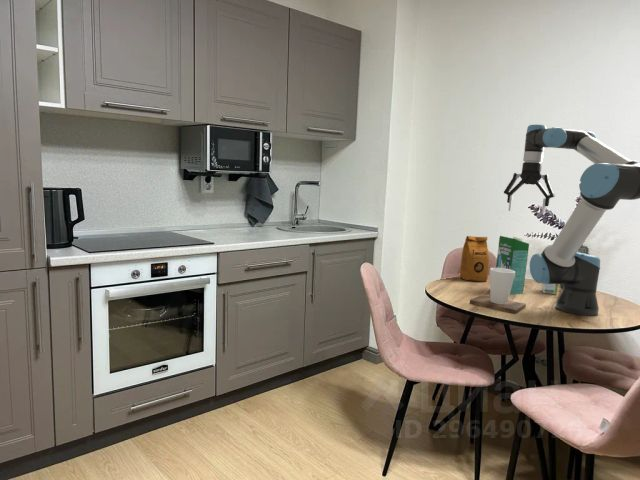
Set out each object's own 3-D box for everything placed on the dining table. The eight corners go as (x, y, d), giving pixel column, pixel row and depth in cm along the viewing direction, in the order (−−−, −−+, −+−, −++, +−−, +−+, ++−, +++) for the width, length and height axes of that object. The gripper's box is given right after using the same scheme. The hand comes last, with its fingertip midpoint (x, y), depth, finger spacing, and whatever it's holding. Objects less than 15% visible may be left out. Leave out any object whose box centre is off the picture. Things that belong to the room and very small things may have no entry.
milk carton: (523, 293, 218) (530, 238, 215) (507, 294, 215) (514, 238, 211) (508, 288, 227) (515, 235, 223) (493, 289, 223) (499, 235, 220)
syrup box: (543, 292, 222) (547, 261, 220) (541, 290, 228) (545, 259, 226) (556, 294, 220) (561, 263, 218) (555, 291, 226) (559, 261, 224)
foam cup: (484, 302, 192) (488, 270, 190) (488, 297, 200) (491, 266, 198) (510, 306, 188) (514, 273, 186) (512, 301, 196) (516, 270, 194)
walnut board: (525, 307, 194) (525, 303, 194) (515, 313, 184) (516, 310, 183) (481, 298, 205) (481, 294, 205) (469, 303, 195) (469, 299, 194)
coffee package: (489, 283, 236) (494, 238, 233) (464, 281, 235) (469, 237, 232) (481, 278, 246) (486, 235, 243) (457, 277, 245) (462, 234, 242)
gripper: (566, 164, 201) (559, 215, 204) (505, 161, 216) (499, 209, 219) (562, 163, 195) (555, 215, 198) (499, 160, 210) (494, 209, 213)
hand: (526, 212), depth 209 cm, fingers open, 13 cm apart
